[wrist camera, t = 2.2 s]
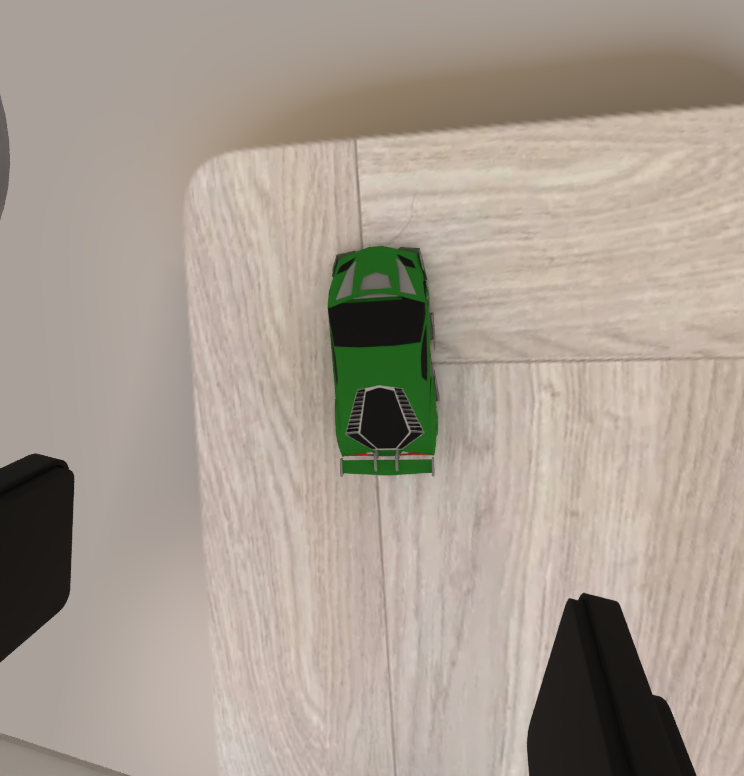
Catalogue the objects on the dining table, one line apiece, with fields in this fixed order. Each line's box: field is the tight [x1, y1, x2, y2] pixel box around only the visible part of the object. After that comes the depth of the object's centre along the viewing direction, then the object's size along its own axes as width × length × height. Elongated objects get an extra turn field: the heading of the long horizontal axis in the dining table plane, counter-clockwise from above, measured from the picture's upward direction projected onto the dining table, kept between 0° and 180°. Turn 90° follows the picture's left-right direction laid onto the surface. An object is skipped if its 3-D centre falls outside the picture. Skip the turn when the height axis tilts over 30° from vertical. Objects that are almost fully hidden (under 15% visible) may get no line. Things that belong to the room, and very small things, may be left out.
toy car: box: [328, 246, 440, 477], centre depth 26 cm, size 10×5×2 cm, turn 4°
